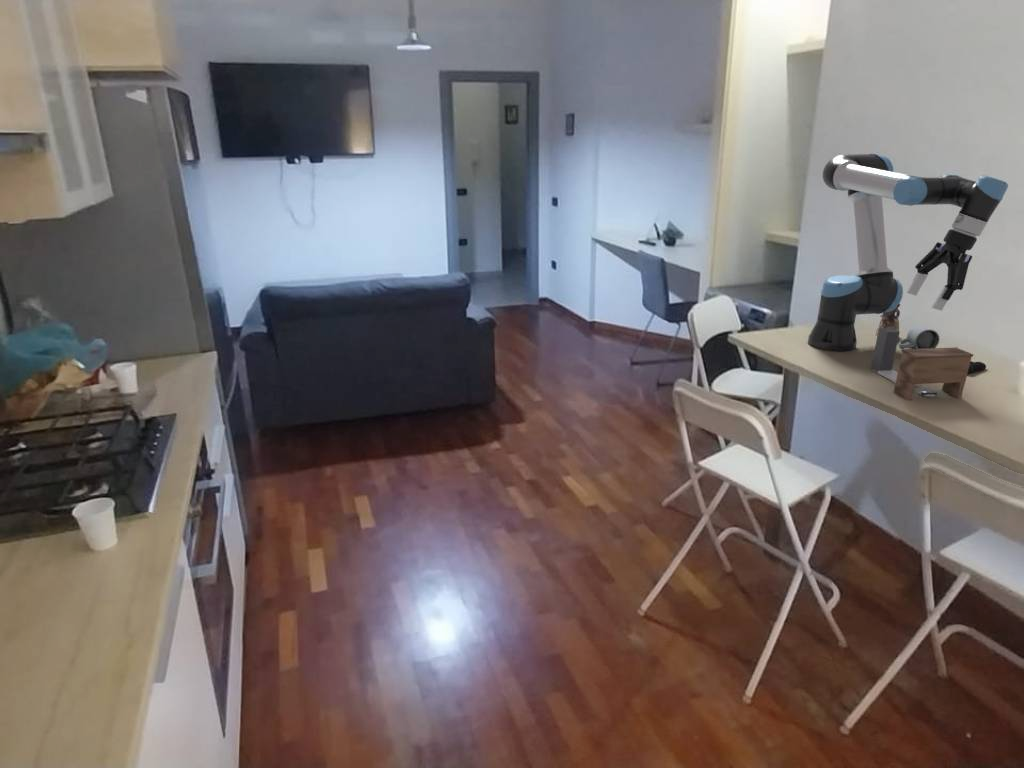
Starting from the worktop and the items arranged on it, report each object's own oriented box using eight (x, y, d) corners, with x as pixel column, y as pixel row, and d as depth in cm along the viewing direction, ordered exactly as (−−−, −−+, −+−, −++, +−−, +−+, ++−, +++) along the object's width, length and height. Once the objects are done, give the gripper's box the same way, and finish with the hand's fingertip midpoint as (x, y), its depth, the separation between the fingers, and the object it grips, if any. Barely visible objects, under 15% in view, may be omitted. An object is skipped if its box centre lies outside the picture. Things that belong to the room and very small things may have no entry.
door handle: (930, 344, 227) (903, 349, 219) (995, 361, 211) (968, 366, 203) (928, 354, 228) (901, 358, 220) (992, 371, 212) (965, 377, 204)
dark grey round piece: (914, 393, 191) (915, 389, 190) (928, 392, 191) (929, 388, 191) (924, 399, 187) (925, 395, 186) (939, 398, 187) (940, 394, 187)
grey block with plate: (869, 368, 209) (877, 328, 205) (884, 368, 210) (892, 327, 205) (903, 387, 194) (912, 343, 190) (919, 386, 195) (929, 343, 191)
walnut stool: (892, 391, 191) (901, 349, 186) (945, 389, 193) (956, 347, 188) (907, 400, 185) (917, 356, 180) (962, 397, 187) (973, 354, 182)
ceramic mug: (925, 345, 233) (929, 323, 231) (937, 352, 226) (942, 330, 223) (893, 344, 234) (897, 323, 232) (904, 351, 227) (908, 329, 224)
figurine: (871, 333, 247) (878, 301, 243) (891, 333, 247) (897, 301, 243) (881, 338, 240) (888, 305, 236) (901, 339, 240) (908, 306, 236)
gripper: (927, 219, 202) (891, 285, 211) (980, 239, 179) (936, 312, 188) (950, 226, 203) (912, 291, 212) (1004, 247, 180) (959, 319, 189)
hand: (923, 301), depth 200 cm, fingers open, 13 cm apart
